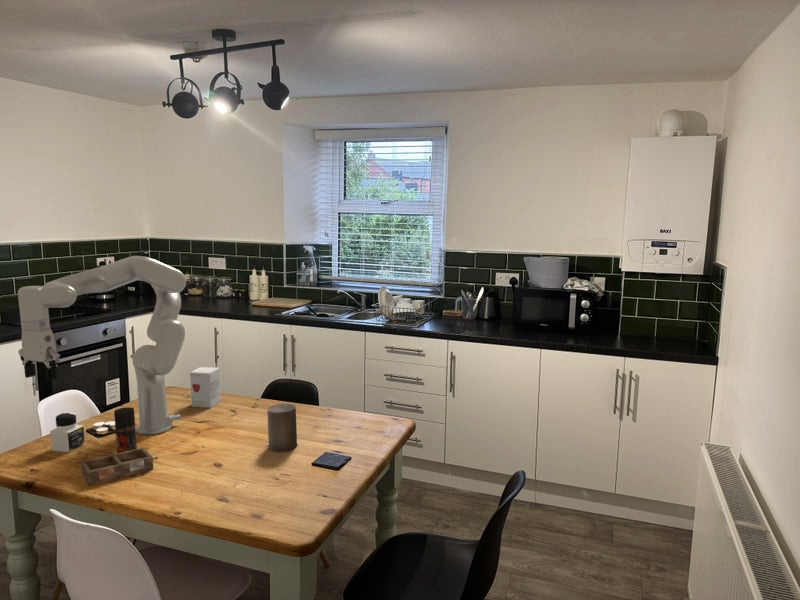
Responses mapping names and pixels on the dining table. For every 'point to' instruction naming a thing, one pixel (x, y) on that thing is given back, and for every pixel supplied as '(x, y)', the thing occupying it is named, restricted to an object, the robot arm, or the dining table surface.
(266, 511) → the dining table surface
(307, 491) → the dining table surface
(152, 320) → the robot arm
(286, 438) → the pillar candle
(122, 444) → the deodorant
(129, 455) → the divided compartment tray
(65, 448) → the medicine bottle
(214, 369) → the supplement box
